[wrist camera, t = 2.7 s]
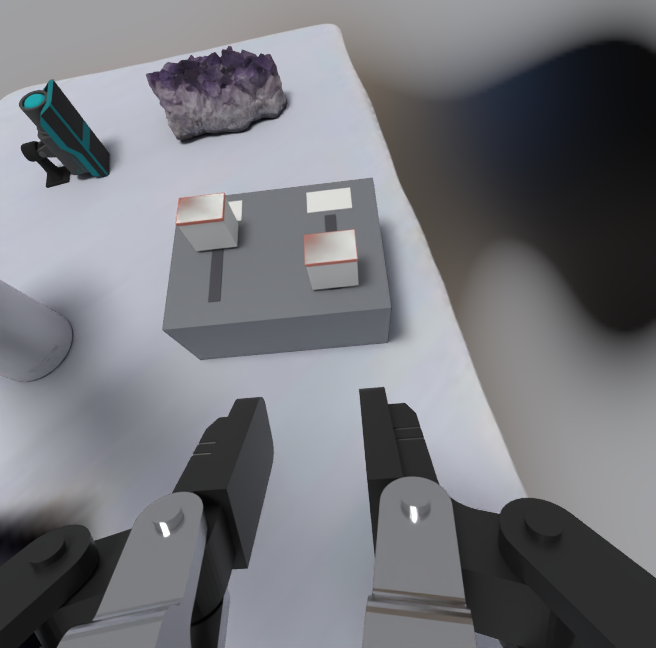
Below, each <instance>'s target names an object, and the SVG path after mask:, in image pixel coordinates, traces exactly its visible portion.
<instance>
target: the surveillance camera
mask: <svg viewBox="0 0 656 648" xmlns="http://www.w3.org/2000/svg"><path fill="white" fill-rule="evenodd" d="M19 107H20V108H21V109H22V110H23V112H24V113H25V114H26V115H27V116H28V117H29V118H30V119H31V120H32V122H33V123H34V124H35V125H36V126H37V130H38V138H39V139H40V140H41V141H40V142H36V141H32V142H29V143H25V144H22V145H21V151H22V153H23V155H24V156H25V157H26V159H28V160H29V161H32V162H34V161H37V162H38V163H39V164H40V165H41V167H42V168H43V169H44V170H45V171H46V172H47V181H46V187H47V188H49V187H53V186H56V185H60V184H64V183H68V182H69V180H70V172H71V173H72V174H73V175H80V174H84V173H87V172H90V173H91V174H92V176H107V175H109V152H108V151H107V150H106V149H105V147H104V146H103V145H102V143H101V142H100V141H99V139H98V138H97V137H96V135H95V134H94V133H93V131H92V130H91V129H90V127H89V126H88V125H87V124H86V122H85V121H84V120H83V118H82V117H81V116H80V114H79V113H78V112H77V110H76V109H75V108H74V106H73V105H72V104H71V102H70V101H69V100H68V98H67V97H66V96H65V95H64V93H63V92H62V91H61V89H60V88H59V87H58V85H57V84H56V83H55V81H54V80H50V81H49V82H48V83H47V85H46V87H45V88H44V89H43V90H36V91H33V92H30V93H28V94H26V95H25V96H24V97H23V98H22V99H21V100H20V102H19ZM47 157H57V158H58V159H59V160H60V161H61V163H62V164H63V165H64V166H63V167H57V166H55V165H54V164H53V163H52V162H51V161H50V160H49V159H48V158H47Z"/></svg>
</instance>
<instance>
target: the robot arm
mask: <svg viewBox="0 0 656 648" xmlns="http://www.w3.org/2000/svg"><path fill="white" fill-rule="evenodd" d="M71 342H72V329H71V325H70V323H69V322H68V320H67V319H65V318H64V317H63V316H62V315H60V314H58V313H56V312H55V311H53V310H51V309H49V308H48V307H46V306H44V305H43V304H41V303H39V302H38V301H36V300H34V299H32V298H31V297H29V296H27V295H26V294H24V293H22V292H20V291H19V290H17V289H15V288H13V287H12V286H10V285H8V284H7V283H5V282H3V281H1V280H0V376H3V377H6V378H10V379H13V380H16V381H32V380H36V379H39V378H41V377H43V376H45V375H47V374H48V373H50V372H51V371H53V370H54V369H55V368H56V367H57V366H58V365H59V364H60V363H61V362H62V361H63V359H64V358H65V356H66V355H67V353H68V351H69V348H70V346H71ZM359 393H360V404H361V415H362V426H363V437H364V449H365V460H366V471H367V482H368V492H369V502H370V513H371V523H372V533H373V543H374V554H375V568H374V580H373V591H372V596H369V597H368V600H367V606H366V613H365V623H364V634H363V645H362V648H477V646H476V639H475V633H474V632H477V633H480V634H483V635H486V636H489V637H493V638H496V639H498V640H499V642H500V643H501V645H502V646H503V648H656V578H655V577H654V576H652V575H651V574H650V573H648V572H647V571H646V570H645V569H643V568H642V567H641V566H639V565H638V564H637V563H635V562H634V561H633V560H631V559H630V558H629V557H628V556H626V555H625V554H624V553H622V552H621V551H620V550H618V549H617V548H616V547H614V546H613V545H612V544H610V543H609V542H608V541H606V540H605V539H604V538H602V537H601V536H600V535H599V534H597V533H596V532H595V531H593V530H592V529H591V528H589V527H588V526H587V525H586V524H584V523H583V522H582V521H580V520H579V519H578V518H576V517H575V516H574V515H572V514H571V513H570V512H568V511H567V510H565V509H563V508H562V507H560V506H558V505H556V504H553V503H551V502H548V501H545V500H541V499H535V498H521V499H516V500H513V501H511V502H509V503H508V504H506V505H505V506H504V507H503V509H502V511H501V513H500V514H496V513H492V512H487V511H482V510H477V509H473V508H470V507H467V506H464V505H462V504H460V503H458V502H456V501H455V500H453V499H452V498H451V497H449V495H448V493H447V492H446V491H445V490H444V489H443V488H442V487H441V486H440V485H439V482H438V480H437V477H436V474H435V471H434V467H433V464H432V461H431V458H430V455H429V452H428V449H427V446H426V443H425V440H424V436H423V433H422V430H421V428H420V424H419V421H418V418H417V415H416V413H415V412H414V411H413V410H412V409H411V408H410V407H409V406H408V405H407V404H406V403H398V404H388V402H387V397H386V393H385V388H384V387H378V388H366V389H359ZM193 454H194V455H193V456H192V457H191V459H190V461H189V462H188V464H187V466H186V468H185V470H184V472H183V474H182V476H181V477H180V479H179V481H178V483H177V485H176V487H175V489H174V491H173V492H172V494H169V495H167V496H164V497H162V498H160V499H158V500H156V501H155V502H153V503H152V504H150V505H149V506H148V507H147V508H146V509H145V510H144V511H143V512H142V513H141V514H140V515H139V516H138V518H137V519H136V521H135V523H134V525H133V528H132V529H129V530H127V531H123V532H120V533H117V534H114V535H111V536H108V537H105V538H102V539H99V540H96V541H93V538H92V536H91V534H90V532H89V530H88V529H87V528H86V527H84V526H82V525H68V526H63V527H60V528H57V529H54V530H52V531H50V532H48V533H46V534H44V535H42V536H41V537H39V538H37V539H36V540H34V541H33V542H32V543H30V544H29V545H28V546H26V547H25V548H24V549H23V550H21V551H20V552H19V553H17V554H16V555H15V556H13V557H12V558H11V559H10V560H8V561H7V562H6V563H4V564H3V565H2V566H1V567H0V648H18V647H19V646H20V645H21V644H22V643H23V642H24V641H25V640H26V639H27V638H28V637H29V636H30V635H31V634H32V633H33V632H35V634H36V635H37V637H38V639H39V640H40V642H41V644H42V646H41V647H40V648H225V641H226V631H227V622H228V613H229V604H230V594H229V590H228V587H227V586H228V582H229V579H230V575H231V571H232V569H246V568H248V565H249V561H250V557H251V552H252V548H253V544H254V540H255V536H256V531H257V527H258V523H259V519H260V514H261V510H262V506H263V502H264V498H265V493H266V489H267V485H268V481H269V476H270V472H271V468H272V464H273V454H274V451H273V440H272V435H271V430H270V425H269V420H268V415H267V410H266V405H265V401H264V399H263V397H255V398H243V399H236V401H235V402H234V405H233V407H232V409H231V411H230V413H229V415H228V417H221V418H218V419H217V420H216V421H215V422H214V423H213V424H211V425H210V426H209V427H208V428H207V429H206V431H205V432H204V434H203V436H202V438H201V440H200V442H199V445H198V446H197V447H196V449H195V451H194V453H193Z"/></svg>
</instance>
